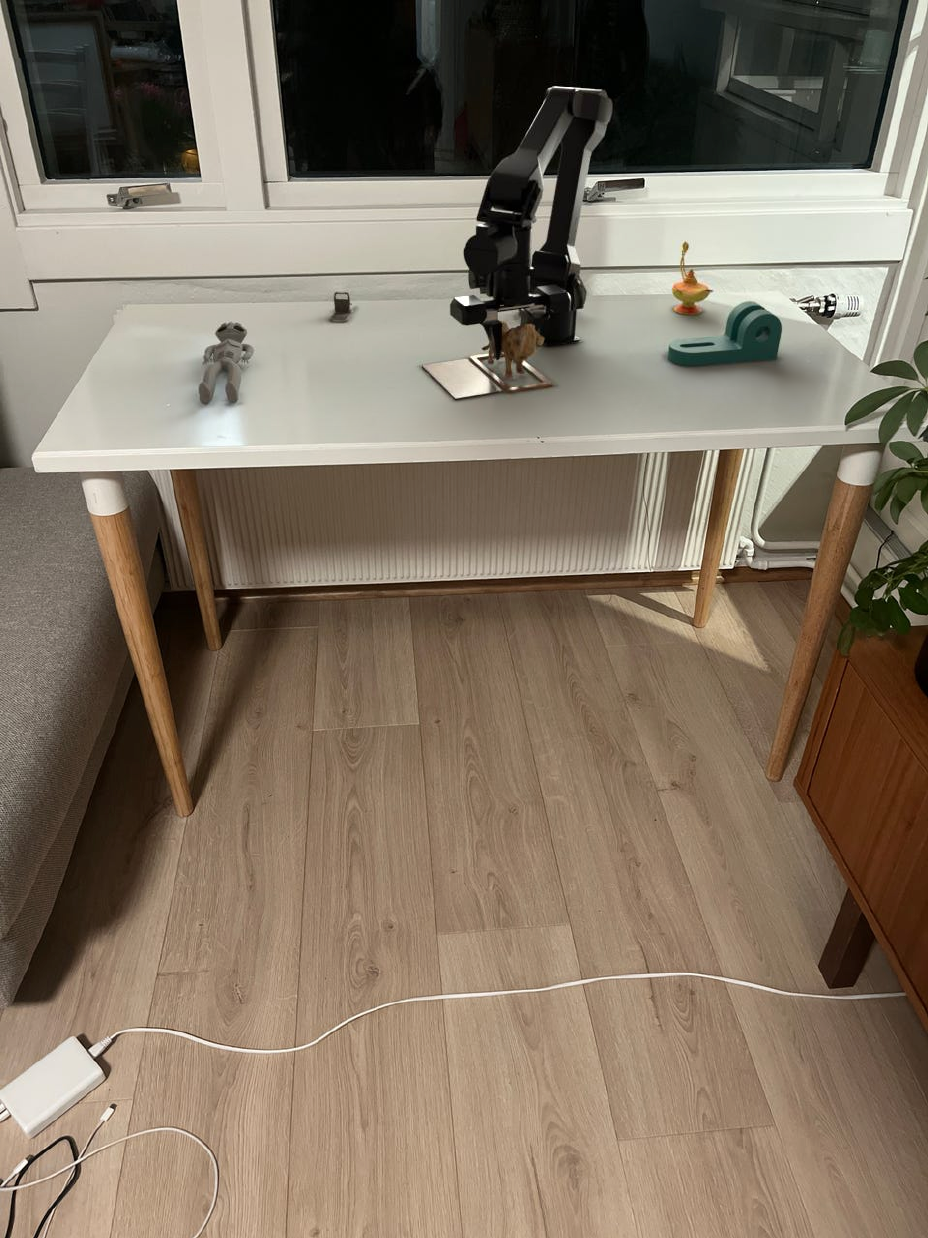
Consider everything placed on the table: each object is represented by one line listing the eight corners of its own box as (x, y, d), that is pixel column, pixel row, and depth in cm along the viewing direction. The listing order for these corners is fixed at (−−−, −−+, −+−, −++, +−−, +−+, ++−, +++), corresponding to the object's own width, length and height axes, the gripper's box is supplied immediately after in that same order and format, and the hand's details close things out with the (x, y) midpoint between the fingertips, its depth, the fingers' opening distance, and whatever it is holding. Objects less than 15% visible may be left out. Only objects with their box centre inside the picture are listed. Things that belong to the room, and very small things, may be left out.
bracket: (758, 345, 168) (766, 299, 164) (776, 358, 163) (785, 312, 158) (661, 352, 165) (667, 306, 161) (676, 367, 160) (683, 320, 155)
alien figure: (187, 381, 144) (207, 319, 164) (193, 411, 147) (212, 346, 167) (242, 379, 145) (255, 317, 164) (246, 409, 148) (258, 345, 167)
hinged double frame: (511, 352, 165) (511, 349, 165) (552, 385, 153) (552, 383, 153) (420, 365, 160) (420, 363, 160) (456, 401, 148) (456, 398, 148)
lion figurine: (546, 380, 154) (549, 325, 149) (518, 387, 152) (521, 331, 147) (494, 349, 164) (496, 296, 159) (468, 355, 162) (469, 302, 156)
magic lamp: (686, 329, 175) (695, 267, 168) (659, 298, 189) (666, 240, 183) (723, 328, 175) (733, 266, 169) (693, 297, 190) (701, 239, 183)
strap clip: (339, 307, 185) (338, 284, 183) (355, 307, 185) (353, 284, 182) (330, 321, 178) (328, 298, 176) (346, 322, 178) (344, 298, 175)
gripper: (543, 239, 157) (539, 333, 166) (436, 251, 151) (438, 348, 160) (575, 257, 148) (569, 355, 157) (463, 270, 142) (463, 372, 152)
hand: (509, 357), depth 157 cm, fingers closed on lion figurine, 4 cm apart
